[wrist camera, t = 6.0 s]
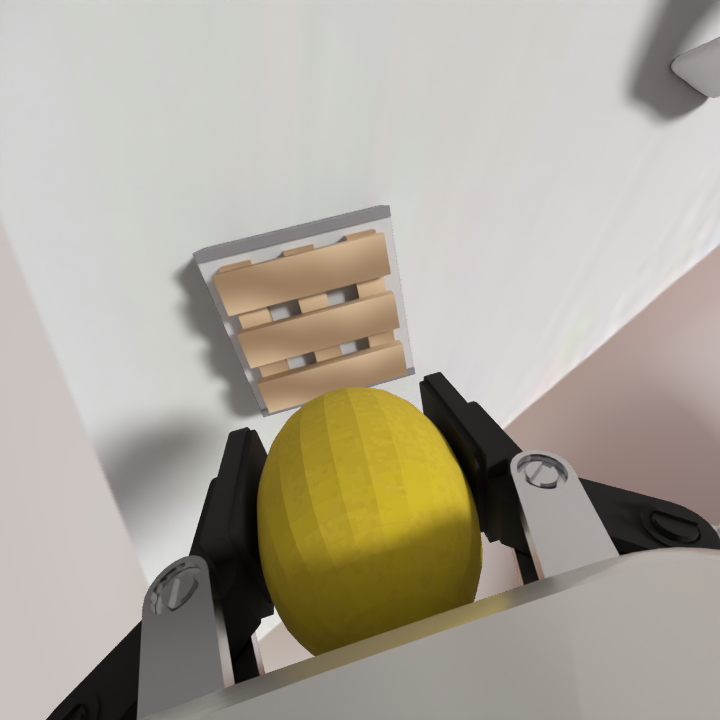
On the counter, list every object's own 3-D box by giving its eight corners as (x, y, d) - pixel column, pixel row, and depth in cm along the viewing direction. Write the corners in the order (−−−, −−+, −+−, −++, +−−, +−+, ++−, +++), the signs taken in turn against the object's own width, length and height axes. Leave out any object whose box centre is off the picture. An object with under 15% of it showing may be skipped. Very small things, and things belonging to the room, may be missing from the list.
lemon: (331, 489, 14) (372, 781, 7) (234, 411, 12) (143, 738, 4) (436, 415, 13) (600, 653, 6) (357, 315, 11) (478, 521, 4)
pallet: (217, 267, 20) (210, 272, 18) (376, 227, 20) (383, 229, 19) (271, 401, 24) (270, 415, 23) (400, 365, 25) (407, 376, 23)
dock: (203, 248, 21) (192, 253, 19) (379, 205, 22) (389, 205, 20) (265, 398, 27) (263, 417, 24) (404, 359, 28) (415, 374, 25)
